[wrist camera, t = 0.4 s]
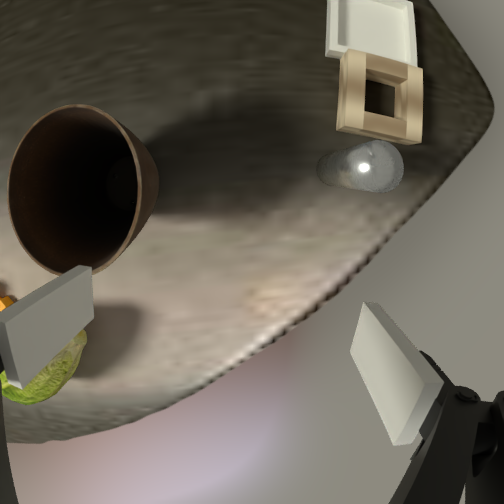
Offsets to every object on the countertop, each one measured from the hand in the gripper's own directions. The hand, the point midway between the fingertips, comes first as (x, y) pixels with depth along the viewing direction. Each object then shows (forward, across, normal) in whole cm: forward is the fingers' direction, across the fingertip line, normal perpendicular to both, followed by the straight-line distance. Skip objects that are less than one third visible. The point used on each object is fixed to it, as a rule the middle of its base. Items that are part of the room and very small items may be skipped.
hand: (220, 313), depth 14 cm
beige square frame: (+26, +15, +18) cm, 35 cm away
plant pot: (+26, -15, +4) cm, 30 cm away
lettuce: (+26, -29, -21) cm, 44 cm away
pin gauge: (+26, +10, +8) cm, 29 cm away
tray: (+26, +13, +30) cm, 41 cm away
